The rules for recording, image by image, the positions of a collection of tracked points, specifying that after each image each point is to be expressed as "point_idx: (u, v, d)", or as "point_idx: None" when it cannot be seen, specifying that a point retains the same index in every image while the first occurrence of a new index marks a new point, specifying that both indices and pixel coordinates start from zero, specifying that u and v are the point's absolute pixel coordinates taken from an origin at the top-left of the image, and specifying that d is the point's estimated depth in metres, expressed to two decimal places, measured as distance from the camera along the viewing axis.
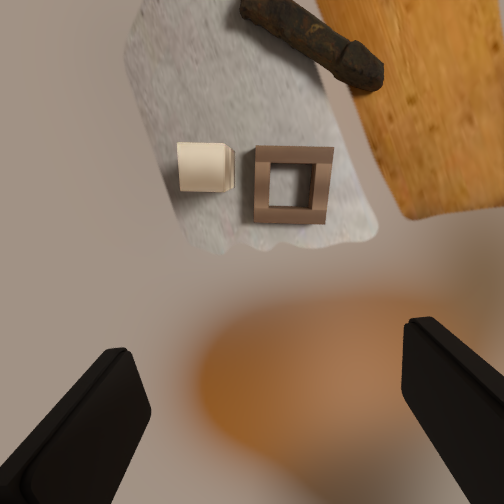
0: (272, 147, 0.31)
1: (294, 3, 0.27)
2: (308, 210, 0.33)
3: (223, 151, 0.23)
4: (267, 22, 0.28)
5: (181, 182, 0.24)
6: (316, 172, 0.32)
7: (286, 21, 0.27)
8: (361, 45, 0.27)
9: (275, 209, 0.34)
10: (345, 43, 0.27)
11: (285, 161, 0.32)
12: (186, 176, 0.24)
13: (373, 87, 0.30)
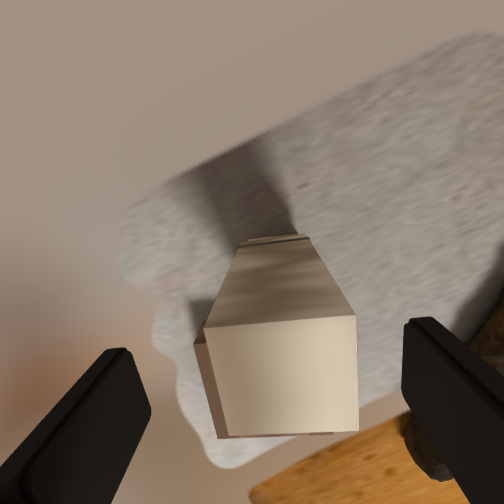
0: None
1: None
2: None
3: (336, 427, 0.08)
4: None
5: (230, 331, 0.07)
6: None
7: None
8: None
9: None
10: None
11: None
12: (251, 345, 0.07)
13: (412, 450, 0.22)
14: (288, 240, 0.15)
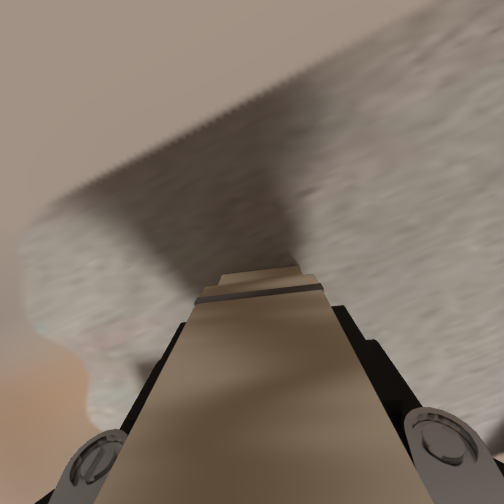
0: None
1: None
2: None
3: None
4: None
5: None
6: None
7: None
8: None
9: None
10: None
11: None
12: None
13: None
14: (285, 290, 0.09)
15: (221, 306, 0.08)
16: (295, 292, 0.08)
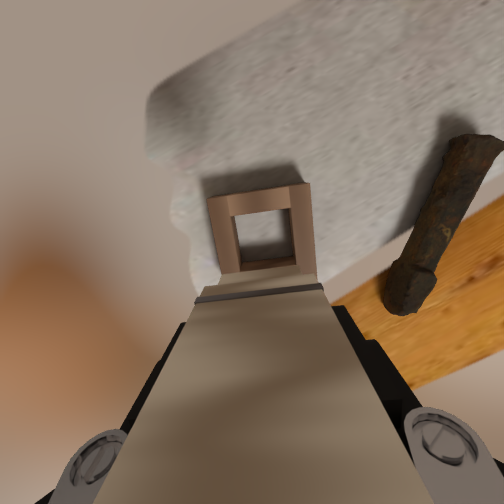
0: (309, 206, 0.23)
1: (470, 202, 0.23)
2: (238, 268, 0.26)
3: None
4: (450, 174, 0.23)
5: None
6: None
7: (454, 198, 0.22)
8: (432, 287, 0.24)
9: (230, 226, 0.24)
10: (432, 269, 0.24)
11: (294, 226, 0.24)
12: None
13: (389, 305, 0.28)
14: (285, 290, 0.09)
15: (221, 306, 0.08)
16: (295, 292, 0.08)
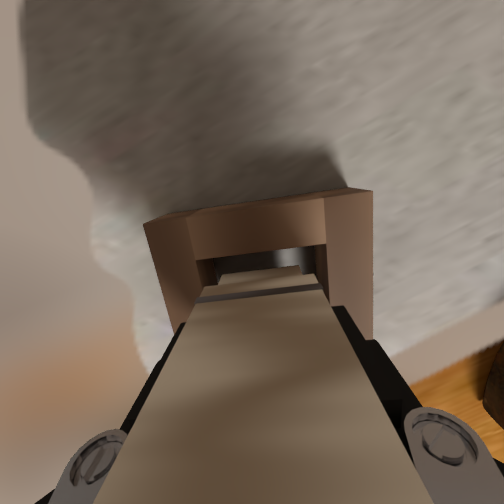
0: (368, 241, 0.11)
1: None
2: None
3: None
4: None
5: None
6: None
7: None
8: None
9: (197, 279, 0.12)
10: None
11: (331, 282, 0.11)
12: None
13: (502, 416, 0.15)
14: (285, 290, 0.09)
15: (221, 306, 0.08)
16: (295, 292, 0.08)
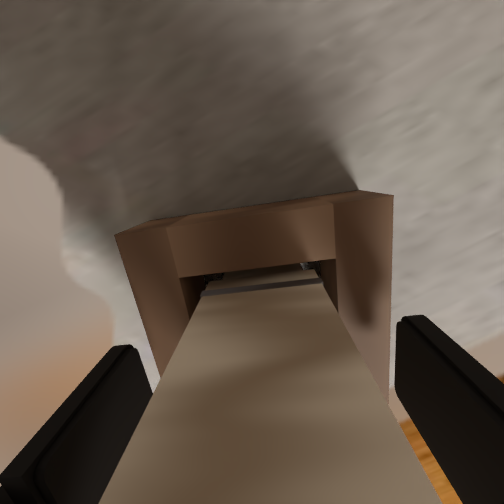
0: (386, 256, 0.09)
1: None
2: None
3: None
4: None
5: None
6: None
7: None
8: None
9: (182, 300, 0.10)
10: None
11: (342, 304, 0.09)
12: None
13: None
14: (286, 284, 0.09)
15: (226, 298, 0.09)
16: (296, 286, 0.09)
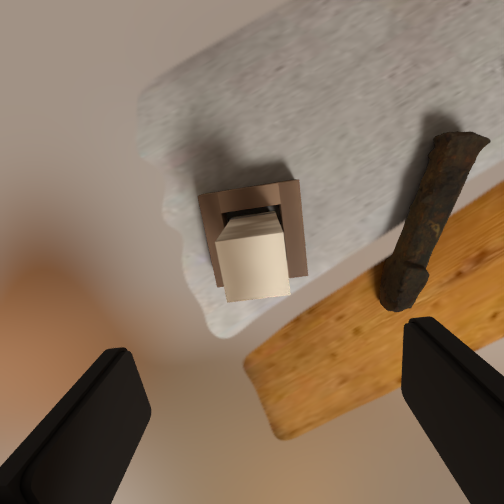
0: (299, 202, 0.24)
1: (457, 197, 0.23)
2: None
3: (280, 294, 0.17)
4: (435, 171, 0.23)
5: (227, 242, 0.16)
6: None
7: (440, 195, 0.23)
8: (425, 282, 0.25)
9: (221, 222, 0.25)
10: (424, 264, 0.25)
11: (284, 223, 0.24)
12: (237, 250, 0.16)
13: (384, 302, 0.28)
14: (262, 214, 0.24)
15: (240, 218, 0.24)
16: (266, 214, 0.24)
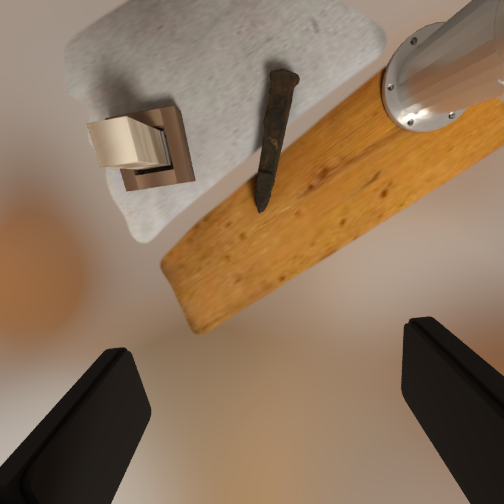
0: (176, 123, 0.34)
1: (285, 118, 0.33)
2: (133, 172, 0.36)
3: (132, 161, 0.27)
4: (269, 101, 0.33)
5: (94, 124, 0.26)
6: (166, 171, 0.36)
7: (272, 116, 0.33)
8: (272, 183, 0.35)
9: None
10: (271, 171, 0.35)
11: (168, 139, 0.34)
12: (100, 128, 0.26)
13: None
14: None
15: None
16: None
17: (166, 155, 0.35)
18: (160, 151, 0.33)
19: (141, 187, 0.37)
